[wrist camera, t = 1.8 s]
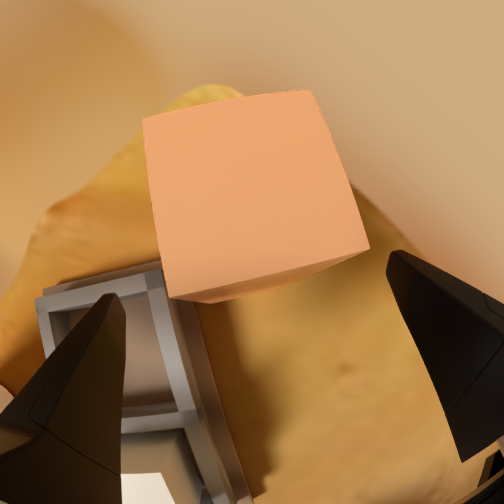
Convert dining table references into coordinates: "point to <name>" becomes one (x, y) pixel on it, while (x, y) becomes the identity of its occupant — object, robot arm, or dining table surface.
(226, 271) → the jaw tall
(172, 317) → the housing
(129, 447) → the cream white block
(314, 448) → the dining table surface
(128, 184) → the dining table surface
